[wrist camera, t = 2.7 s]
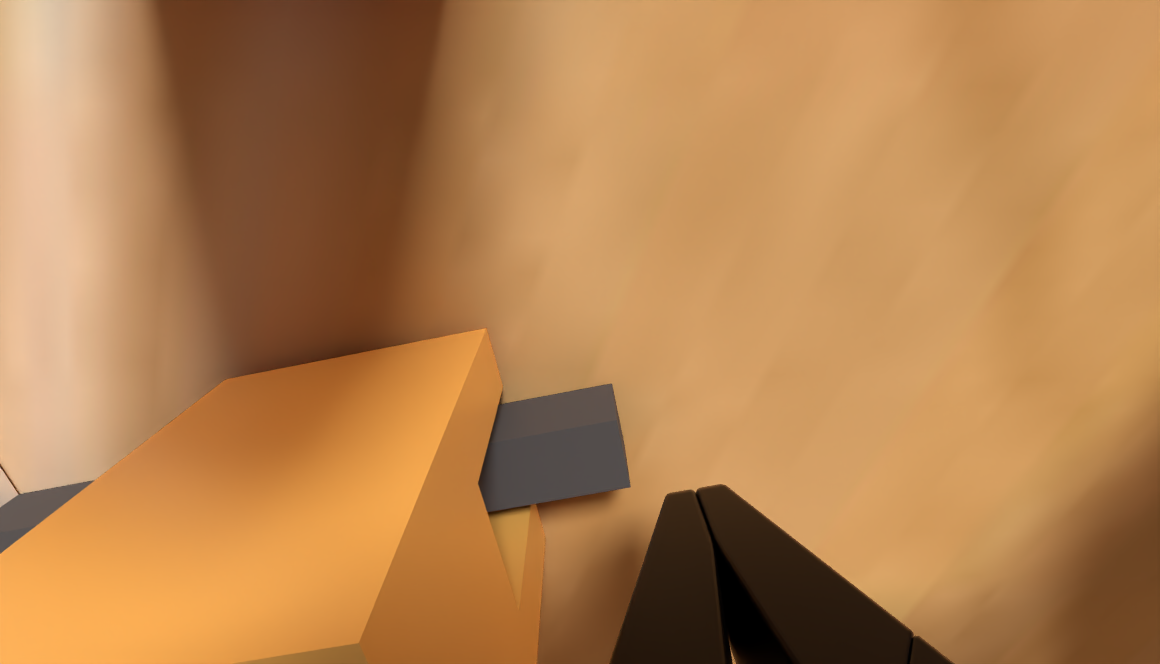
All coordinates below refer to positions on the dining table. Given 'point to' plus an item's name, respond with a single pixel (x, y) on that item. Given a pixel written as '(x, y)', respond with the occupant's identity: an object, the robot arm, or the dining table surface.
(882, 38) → the dining table surface
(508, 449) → the bar
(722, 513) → the robot arm
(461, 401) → the notched orange cube
